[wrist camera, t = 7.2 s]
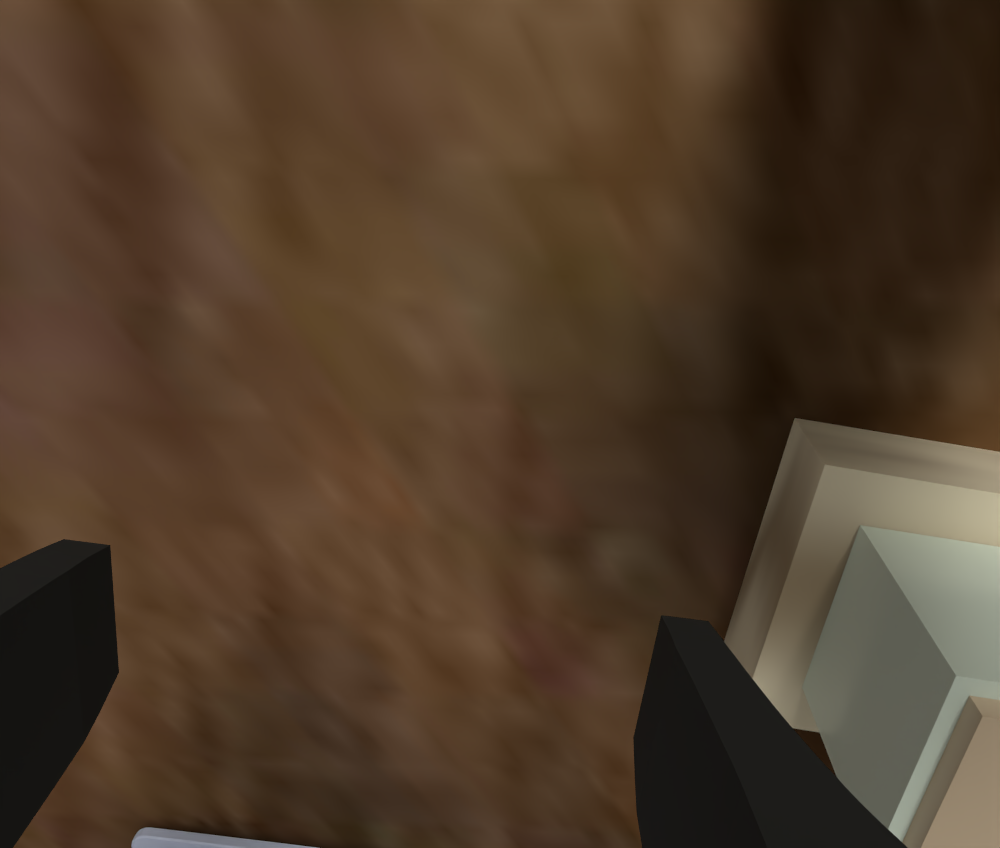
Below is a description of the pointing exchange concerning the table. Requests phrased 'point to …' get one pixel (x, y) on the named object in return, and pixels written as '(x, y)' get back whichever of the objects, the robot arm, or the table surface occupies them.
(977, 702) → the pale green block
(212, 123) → the table surface
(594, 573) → the table surface
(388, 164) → the table surface
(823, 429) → the base block
